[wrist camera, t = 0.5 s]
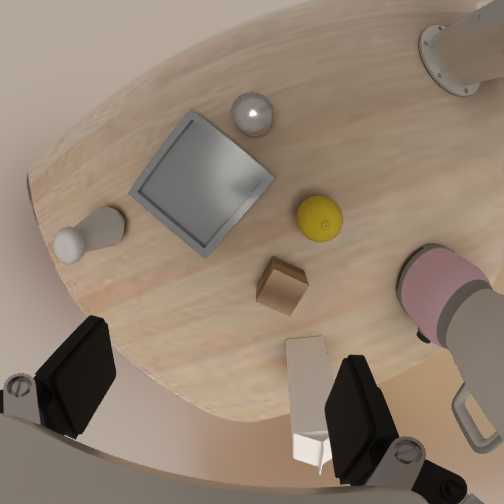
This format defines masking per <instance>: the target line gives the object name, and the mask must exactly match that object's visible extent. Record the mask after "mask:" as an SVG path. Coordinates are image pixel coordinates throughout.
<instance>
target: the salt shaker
mask: <svg viewBox="0 0 504 504" xmlns="http://www.w3.org/2000/svg"><path fill="white" fill-rule="evenodd" d="M124 225H125V219H124V218H123V217H122V215H121V214H120V213H119V211H118V210H116V209H114V208H110V207H102V208H98V209H97V210H95V211H94V212H93V213H92V214H90V215H89V216H88V217H86V218H85V219H84V220H83V221H81V222H80V223H79V224H77V225H76V226H75V227H74V228H73V227H66V228H63V229H61V230H59V231H58V232H57V234H56V235H55V236H54V241H53V247H54V252H55V254H56V256H57V257H58V258H59V259H60V260H61V261H62V262H63V263H65V264H73V263H76V262H78V261H79V260H80V259H81V258H82V257H83V256H84V253H86V252H89V251H93V250H97V249H101V248H105V247H109V246H113V245H116V244H117V243H118V242H119V241H120V240H121V239H122V236H123V233H124Z"/></svg>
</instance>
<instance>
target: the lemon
mask: <svg viewBox="0 0 504 504" xmlns="http://www.w3.org/2000/svg"><path fill="white" fill-rule="evenodd" d="M342 223H343V217H342V213H341V210H340V208H339V206H338V205H337V204H336V203H335V202H334V201H333V200H332V199H330V198H328V197H325V196H312V197H310V198H308V199H306V200H305V201H304V202H302V204H301V205H300V207H299V209H298V212H297V225H298V227H299V229H300V231H301V232H302V234H303V235H304V236H306V237H307V238H308V239H310V240H312V241H315V242H327V241H329V240H332V239H333V238H335V237H336V236H337V235H338V233H339V232H340V230H341V227H342Z"/></svg>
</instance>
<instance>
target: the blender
mask: <svg viewBox="0 0 504 504" xmlns="http://www.w3.org/2000/svg"><path fill="white" fill-rule="evenodd" d="M422 248H423V249H422V250H421V251H419V252H418V253H417V254H415V255H414V256H413V257H412V258H411V259H410V261H409V262H408V263H407V265H406V266H405V268H404V270H403V272H402V274H401V277H400V280H399V286H398V288H396V294H397V298H398V300H399V302H400V304H401V306H402V307H403V309H404V310H405V311H406V312H407V313H408V314H409V316H410V317H411V318H412V320H413V321H414V322H415V324H416V325H417V326H418V332H417V336H418V338H419V339H420V340H422V341H423V342H425V343H430V342H432V343H433V344H434V345H435V346H437V347H443V348H447V349H448V350H449V351H450V353H451V354H452V356H453V359H454V362H455V364H456V365H457V367H458V370H459V372H460V374H461V376H462V378H463V380H464V383H463V384H462V386H461V388H460V389H459V391H458V392H457V394H456V395H455V397H454V399H453V402H452V411H453V413H454V416H455V418H456V420H457V422H458V424H459V426H460V428H461V430H462V432H463V434H464V435H465V437H466V439H467V441H468V443H469V444H470V446H471V447H472V449H473V450H474V451H475V452H477V453H480V454H484V453H488V452H491V451H492V450H494V449H495V448H497V447H498V446H499V445H500V444H501V443H503V442H504V295H502V294H499V293H497V292H495V291H493V289H492V287H491V284H490V282H489V280H488V278H487V277H486V276H485V274H484V273H483V272H482V271H481V270H480V269H479V268H477V267H476V266H475V265H473V264H471V263H470V262H468V261H467V260H465V259H463V258H462V257H460V256H458V255H457V254H455V253H454V252H453V251H452V250H450V249H448V248H446V247H444V246H440V245H434V244H427V245H424V246H422ZM470 393H471V394H472V395H473V397H474V398H475V400H476V401H477V403H478V404H479V406H480V408H481V409H482V411H483V412H484V414H485V415H486V417H487V418H488V420H489V421H490V422H491V424H492V425H493V426H494V428H495V429H496V430H497V431H496V432H495V433H494V434H493V435H492V436H491V437H489V438H488V439H485V438H483V436H482V435H481V433H480V431H479V430H478V428H477V426H476V425H475V423H474V421H473V419H472V418H471V416H470V414H469V412H468V411H467V409H466V407H465V405H464V404H465V401H466V399H467V398H468V396H469V395H470Z"/></svg>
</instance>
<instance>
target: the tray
mask: <svg viewBox="0 0 504 504" xmlns="http://www.w3.org/2000/svg"><path fill="white" fill-rule="evenodd" d="M275 179H276V178H275V177H274V176H273V175H272V174H271V173H270V172H268V171H267V170H266V169H265V168H264V167H263V166H261V165H260V164H259V163H258V162H257V161H256V160H254V159H253V158H252V157H251V156H250V155H248V154H247V153H246V152H245V151H244V150H242V149H241V148H240V147H239V146H238V145H236V144H235V143H234V142H233V141H231V140H230V139H229V138H228V137H226V136H225V135H224V134H223V133H222V132H220V131H219V130H218V129H216V128H215V127H214V126H213V125H211V124H210V123H209V122H208V121H206V120H205V119H204V118H202V117H201V116H200V115H199V114H197V113H196V112H195V111H193V110H192V109H191V110H190V111H189V112H188V113H187V114H186V116H185V117H184V118H183V119H182V121H181V122H180V123H179V124H178V125H177V127H176V128H175V129H174V130H173V132H172V133H171V134H170V136H169V137H168V138H167V139H166V141H165V142H164V143H163V145H162V146H161V147H160V149H159V150H158V151H157V153H156V154H155V155H154V157H153V158H152V159H151V161H150V162H149V164H148V165H147V166H146V168H145V169H144V171H143V172H142V174H141V175H140V176H139V178H138V179H137V181H136V182H135V184H134V185H133V187H132V188H131V190H130V191H129V193H128V194H130V195H131V196H132V197H133V198H134V199H135V200H136V201H138V202H139V203H140V204H141V205H142V206H143V207H144V208H146V209H147V210H148V211H149V212H150V213H151V214H153V215H154V216H155V217H156V218H157V219H158V220H160V221H161V222H162V223H163V224H164V225H166V226H167V227H168V228H169V229H170V230H171V231H173V232H174V233H175V234H176V235H177V236H179V237H180V238H181V239H182V240H183V241H185V242H186V243H187V244H188V245H189V246H191V247H192V248H193V249H194V250H195V251H197V252H198V253H199V254H200V255H202V256H203V257H204V258H205V259H206V257H207V256H208V255H209V254H210V253H211V252H212V250H213V249H214V248H215V247H216V246H217V245H218V243H219V242H220V241H221V240H222V239H223V238H224V236H225V235H226V234H227V233H228V232H229V231H230V230H231V228H232V227H233V226H234V225H235V224H236V223H237V222H238V220H239V219H240V218H241V217H242V216H243V215H244V214H245V212H246V211H247V210H248V209H249V208H250V207H251V206H252V204H253V203H254V202H255V201H256V200H257V199H258V198H259V197H260V195H261V194H262V193H263V192H264V191H265V190H266V189H267V188H268V186H269V185H270V184H271V183H272V182H273V181H274V180H275Z"/></svg>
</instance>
